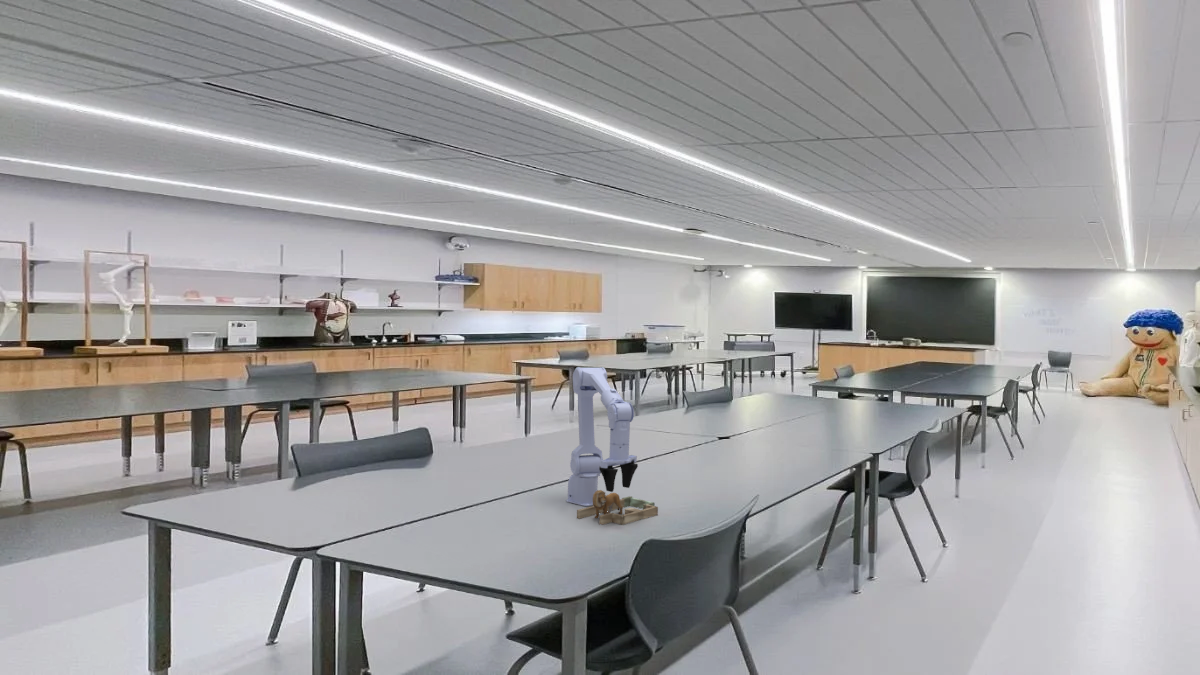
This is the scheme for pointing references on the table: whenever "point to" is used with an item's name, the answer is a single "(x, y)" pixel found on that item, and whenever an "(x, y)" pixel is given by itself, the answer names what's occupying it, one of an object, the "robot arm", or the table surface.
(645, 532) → the table surface
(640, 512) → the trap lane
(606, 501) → the lion figurine
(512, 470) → the table surface
